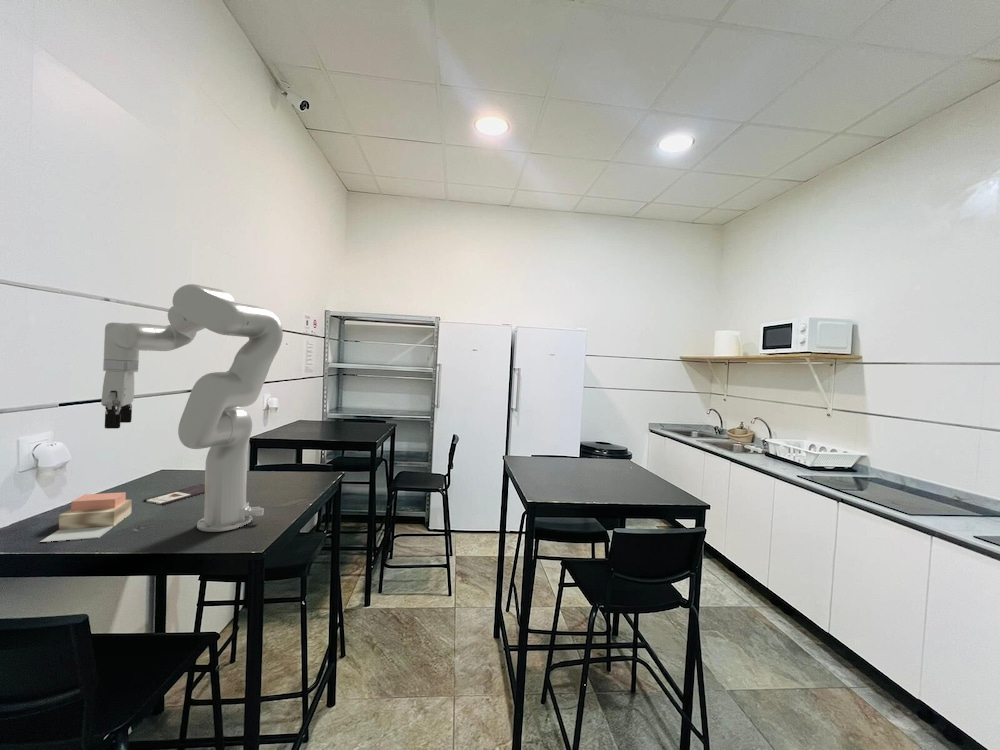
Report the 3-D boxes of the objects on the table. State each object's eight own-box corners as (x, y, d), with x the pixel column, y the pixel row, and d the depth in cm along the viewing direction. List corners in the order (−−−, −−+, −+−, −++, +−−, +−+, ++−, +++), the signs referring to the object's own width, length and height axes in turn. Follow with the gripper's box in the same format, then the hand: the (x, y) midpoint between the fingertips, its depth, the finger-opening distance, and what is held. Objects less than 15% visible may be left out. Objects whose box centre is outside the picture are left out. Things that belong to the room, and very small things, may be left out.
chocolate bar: (220, 487, 145) (164, 503, 128) (220, 490, 145) (164, 506, 128) (200, 484, 148) (143, 499, 131) (200, 486, 148) (143, 502, 131)
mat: (112, 527, 111) (112, 526, 111) (98, 538, 104) (98, 536, 104) (57, 531, 107) (57, 530, 107) (39, 543, 100) (39, 541, 100)
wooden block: (131, 513, 120) (131, 499, 120) (113, 526, 111) (114, 511, 111) (81, 516, 117) (81, 502, 116) (59, 530, 107) (59, 515, 107)
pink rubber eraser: (125, 500, 119) (125, 492, 119) (114, 507, 113) (115, 499, 113) (84, 503, 116) (84, 494, 116) (71, 510, 110) (71, 501, 110)
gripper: (114, 363, 128) (112, 420, 129) (91, 366, 113) (88, 430, 113) (146, 365, 132) (143, 420, 132) (128, 368, 116) (125, 430, 117)
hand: (118, 425), depth 123 cm, fingers open, 9 cm apart
